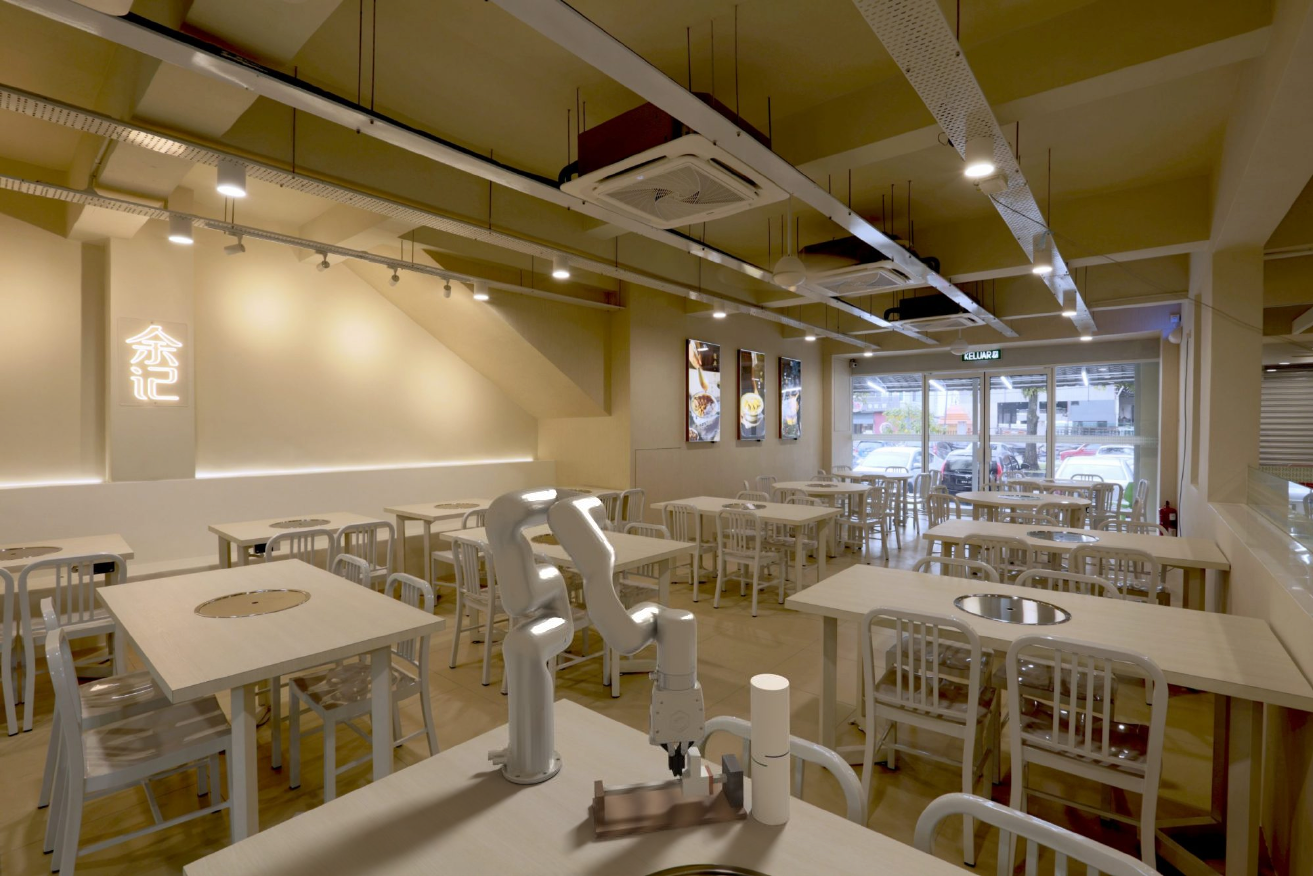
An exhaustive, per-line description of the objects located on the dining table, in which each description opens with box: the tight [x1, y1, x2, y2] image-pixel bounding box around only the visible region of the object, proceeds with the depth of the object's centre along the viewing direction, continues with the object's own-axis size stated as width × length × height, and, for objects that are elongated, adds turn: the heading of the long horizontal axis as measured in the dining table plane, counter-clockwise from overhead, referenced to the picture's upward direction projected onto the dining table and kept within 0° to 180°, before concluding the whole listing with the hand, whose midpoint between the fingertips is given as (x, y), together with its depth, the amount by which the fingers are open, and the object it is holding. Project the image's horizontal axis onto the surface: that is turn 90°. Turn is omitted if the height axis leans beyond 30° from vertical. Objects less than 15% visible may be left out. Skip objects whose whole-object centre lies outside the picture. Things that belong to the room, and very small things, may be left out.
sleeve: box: [678, 746, 709, 798], centre depth 115 cm, size 5×4×8 cm
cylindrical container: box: [750, 673, 791, 826], centre depth 114 cm, size 7×7×25 cm
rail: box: [592, 753, 748, 840], centre depth 115 cm, size 28×10×8 cm, turn 100°
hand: (676, 772), depth 115 cm, fingers closed
